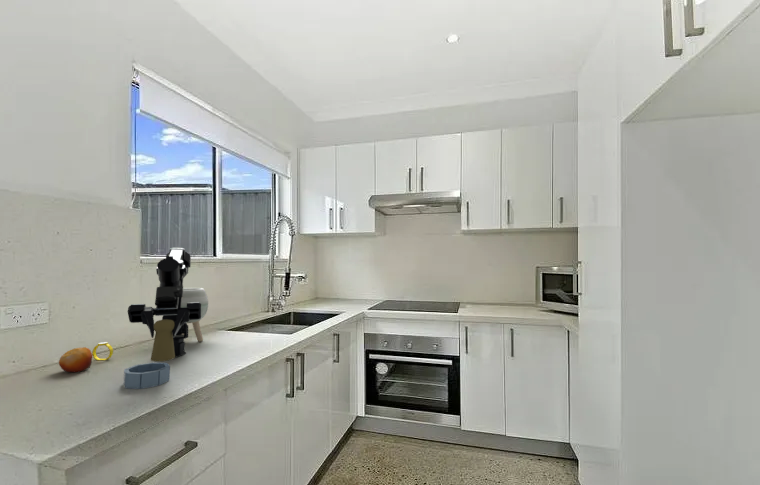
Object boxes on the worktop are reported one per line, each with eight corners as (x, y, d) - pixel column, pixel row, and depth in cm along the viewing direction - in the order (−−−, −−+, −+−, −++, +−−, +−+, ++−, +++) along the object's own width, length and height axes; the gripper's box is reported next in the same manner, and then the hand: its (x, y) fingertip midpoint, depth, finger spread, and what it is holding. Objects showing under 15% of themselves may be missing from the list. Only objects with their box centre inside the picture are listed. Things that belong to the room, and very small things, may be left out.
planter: (174, 338, 158) (176, 287, 159) (212, 338, 160) (214, 287, 161) (155, 347, 142) (157, 290, 143) (197, 347, 144) (199, 290, 145)
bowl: (114, 387, 98) (114, 372, 98) (143, 375, 108) (143, 361, 109) (150, 389, 97) (151, 374, 97) (176, 376, 108) (176, 363, 108)
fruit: (104, 362, 116) (91, 343, 113) (80, 381, 110) (66, 362, 106) (87, 359, 119) (74, 341, 116) (63, 378, 112) (48, 359, 109)
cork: (159, 362, 100) (161, 322, 100) (145, 359, 102) (147, 320, 102) (179, 357, 105) (181, 319, 105) (166, 354, 108) (167, 317, 108)
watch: (90, 362, 123) (90, 344, 123) (96, 359, 125) (96, 342, 126) (109, 360, 123) (108, 343, 123) (114, 358, 126) (114, 341, 126)
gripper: (130, 276, 104) (119, 321, 94) (202, 276, 112) (199, 317, 102) (134, 300, 111) (125, 345, 101) (202, 298, 119) (199, 339, 108)
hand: (163, 336), depth 103 cm, fingers closed on cork, 5 cm apart
